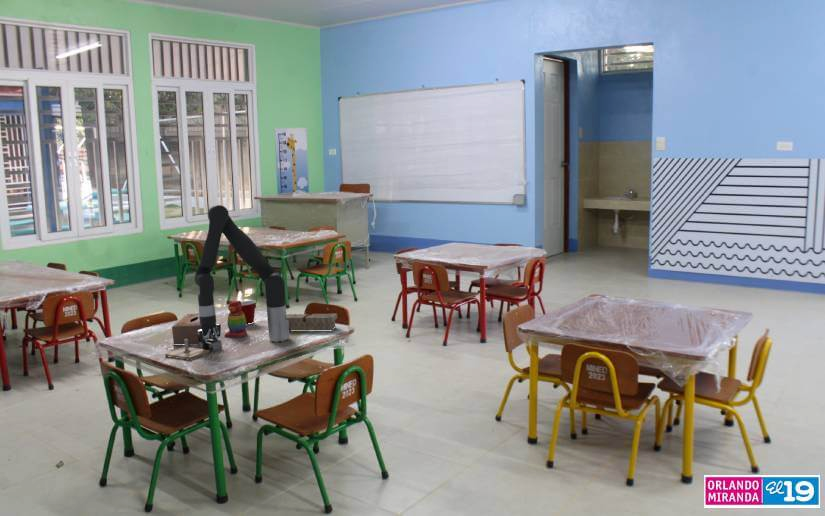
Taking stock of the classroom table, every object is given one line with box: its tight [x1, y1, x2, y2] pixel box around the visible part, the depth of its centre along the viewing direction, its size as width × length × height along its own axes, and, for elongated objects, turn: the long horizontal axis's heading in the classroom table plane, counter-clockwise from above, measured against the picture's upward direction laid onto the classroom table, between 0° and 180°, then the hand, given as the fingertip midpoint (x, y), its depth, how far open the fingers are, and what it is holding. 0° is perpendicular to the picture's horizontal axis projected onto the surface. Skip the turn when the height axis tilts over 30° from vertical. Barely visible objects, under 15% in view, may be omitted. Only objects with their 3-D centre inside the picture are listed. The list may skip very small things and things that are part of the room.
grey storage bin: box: [198, 338, 223, 353], centre depth 346 cm, size 9×6×4 cm, turn 61°
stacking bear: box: [224, 300, 248, 339], centre depth 369 cm, size 11×10×18 cm
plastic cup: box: [241, 299, 257, 324], centre depth 392 cm, size 11×11×12 cm
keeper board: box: [164, 339, 210, 361], centre depth 338 cm, size 16×12×8 cm
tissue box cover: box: [171, 312, 217, 345], centre depth 367 cm, size 26×14×10 cm, turn 1°
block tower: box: [286, 312, 338, 331], centre depth 373 cm, size 8×8×29 cm
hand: (210, 348), depth 346 cm, fingers open, 5 cm apart
